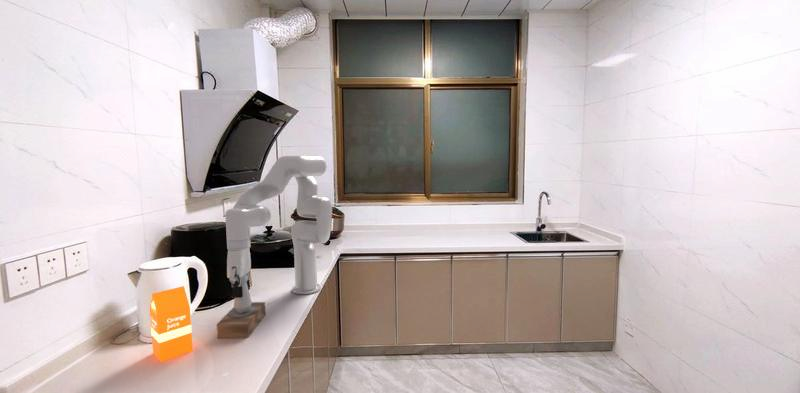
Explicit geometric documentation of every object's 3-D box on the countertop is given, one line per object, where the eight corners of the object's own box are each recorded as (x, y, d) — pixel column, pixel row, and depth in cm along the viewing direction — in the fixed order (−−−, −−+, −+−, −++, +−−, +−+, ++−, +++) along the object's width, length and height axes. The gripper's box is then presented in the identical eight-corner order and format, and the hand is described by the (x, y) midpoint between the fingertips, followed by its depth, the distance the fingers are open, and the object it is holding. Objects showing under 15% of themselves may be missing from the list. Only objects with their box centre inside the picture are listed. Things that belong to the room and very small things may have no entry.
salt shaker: (246, 306, 135) (245, 271, 134) (255, 310, 132) (253, 274, 130) (231, 311, 131) (229, 275, 129) (239, 315, 127) (237, 279, 126)
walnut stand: (239, 315, 140) (238, 301, 140) (265, 314, 141) (264, 300, 140) (217, 338, 122) (216, 322, 122) (248, 337, 123) (247, 322, 122)
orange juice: (193, 350, 115) (188, 288, 113) (160, 362, 108) (155, 297, 106) (184, 342, 120) (180, 283, 118) (152, 353, 113) (147, 290, 111)
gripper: (237, 238, 137) (240, 285, 139) (216, 250, 120) (219, 303, 122) (258, 238, 137) (260, 285, 139) (240, 249, 120) (243, 303, 122)
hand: (241, 293), depth 130 cm, fingers open, 6 cm apart
